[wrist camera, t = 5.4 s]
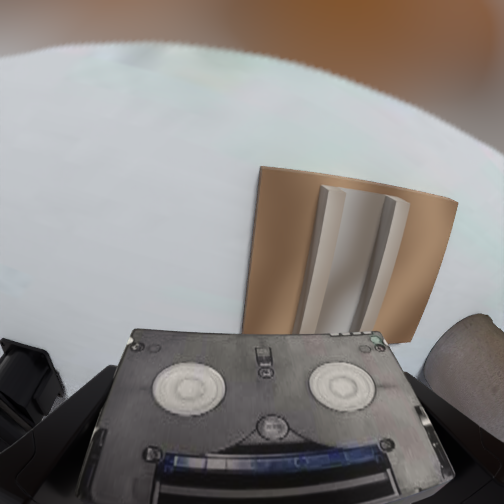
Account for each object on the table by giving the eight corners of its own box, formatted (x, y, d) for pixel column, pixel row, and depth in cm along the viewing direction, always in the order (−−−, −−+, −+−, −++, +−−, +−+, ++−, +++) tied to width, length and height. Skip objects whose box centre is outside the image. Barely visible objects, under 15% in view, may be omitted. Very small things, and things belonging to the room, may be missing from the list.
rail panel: (241, 333, 22) (242, 359, 19) (260, 165, 17) (265, 172, 15) (404, 333, 23) (418, 354, 21) (448, 198, 19) (472, 209, 16)
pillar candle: (499, 300, 23) (584, 391, 9) (481, 364, 27) (539, 450, 13) (427, 332, 24) (510, 457, 10) (416, 395, 27) (467, 500, 14)
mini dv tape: (141, 361, 10) (98, 517, 4) (133, 328, 9) (73, 497, 4) (368, 362, 10) (427, 500, 5) (379, 330, 10) (456, 477, 4)
